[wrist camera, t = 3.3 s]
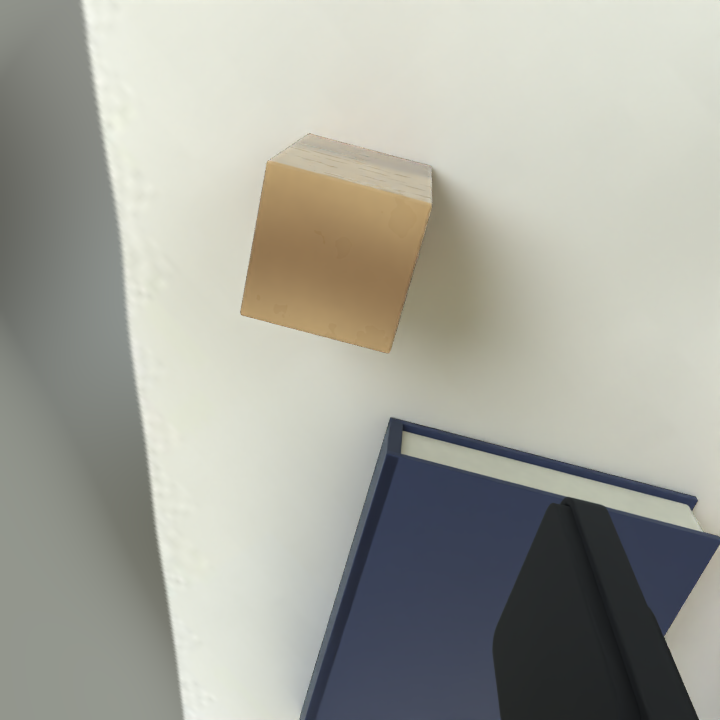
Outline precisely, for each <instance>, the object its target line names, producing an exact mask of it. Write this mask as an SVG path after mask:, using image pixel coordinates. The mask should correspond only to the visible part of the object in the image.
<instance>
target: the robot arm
mask: <svg viewBox="0 0 720 720" xmlns="http://www.w3.org/2000/svg"><path fill="white" fill-rule="evenodd" d="M492 652H493V661H494V669H495V677H496V685H497V693H498V701H499V709H500V717H501V720H699V719H698V716H697V714H696V712H695V709H694V707H693V705H692V702H691V700H690V697H689V695H688V693H687V690H686V688H685V686H684V683H683V681H682V679H681V676H680V674H679V672H678V669H677V667H676V664H675V662H674V660H673V657H672V655H671V653H670V650H669V648H668V646H667V643H666V641H665V638H664V636H663V634H662V631H661V629H660V627H659V624H658V622H657V620H656V617H655V615H654V614H653V612H652V610H651V609H650V608H649V607H648V605H647V603H646V601H645V598H644V596H643V593H642V591H641V589H640V586H639V584H638V581H637V579H636V577H635V574H634V572H633V569H632V567H631V565H630V562H629V560H628V558H627V555H626V553H625V550H624V548H623V546H622V543H621V541H620V538H619V536H618V534H617V531H616V529H615V526H614V524H613V522H612V519H611V517H610V515H609V512H608V510H607V508H606V507H605V506H603V505H601V504H597V503H593V502H588V501H584V500H580V499H576V498H572V497H566V498H564V499H563V500H562V501H561V503H560V504H556V503H551V504H550V505H549V506H548V508H547V510H546V512H545V514H544V517H543V519H542V521H541V524H540V526H539V528H538V531H537V533H536V535H535V538H534V540H533V542H532V545H531V547H530V549H529V552H528V554H527V556H526V559H525V561H524V563H523V566H522V568H521V570H520V573H519V575H518V577H517V580H516V582H515V584H514V586H513V589H512V591H511V593H510V596H509V598H508V600H507V603H506V605H505V607H504V610H503V612H502V614H501V617H500V619H499V621H498V624H497V626H496V629H495V632H494V636H493V645H492Z"/></svg>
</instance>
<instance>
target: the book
mask: <svg viewBox="0 0 720 720" xmlns="http://www.w3.org/2000/svg"><path fill="white" fill-rule="evenodd" d="M566 497H572V498H576V499H580V500H584V501H588V502H593V503H597V504H601V505H603V506H605V507H606V508H607V510H608V512H609V515H610V517H611V519H612V522H613V524H614V526H615V529H616V531H617V534H618V536H619V538H620V541H621V543H622V546H623V548H624V550H625V553H626V555H627V558H628V560H629V562H630V565H631V567H632V569H633V572H634V574H635V577H636V579H637V581H638V584H639V586H640V589H641V591H642V593H643V596H644V598H645V601H646V603H647V605H648V607H649V608H650V609H651V610H652V612H653V614H654V615H655V617H656V620H657V622H658V624H659V627H660V629H661V631H662V634H663V636H665V634H666V632H667V631H668V629H669V627H670V626H671V624H672V622H673V621H674V619H675V617H676V616H677V614H678V612H679V611H680V609H681V607H682V606H683V604H684V603H685V601H686V599H687V598H688V596H689V594H690V593H691V591H692V589H693V588H694V586H695V584H696V583H697V581H698V579H699V578H700V576H701V574H702V573H703V571H704V569H705V568H706V566H707V564H708V563H709V561H710V559H711V558H712V556H713V554H714V553H715V551H716V550H717V548H718V546H719V545H720V537H719V536H716V535H713V534H709V533H705V532H703V530H702V528H701V527H700V525H699V523H698V521H697V520H696V518H695V516H694V514H693V513H692V510H693V508H694V506H695V505H696V503H697V501H698V500H697V498H696V497H695V496H691V495H687V494H683V493H679V492H675V491H672V490H668V489H664V488H660V487H656V486H652V485H649V484H645V483H641V482H637V481H633V480H629V479H626V478H622V477H618V476H614V475H610V474H606V473H602V472H599V471H595V470H591V469H587V468H583V467H579V466H576V465H572V464H568V463H564V462H560V461H556V460H553V459H549V458H545V457H541V456H537V455H533V454H530V453H526V452H522V451H518V450H514V449H510V448H506V447H503V446H499V445H495V444H491V443H487V442H483V441H480V440H476V439H472V438H468V437H464V436H460V435H457V434H453V433H449V432H445V431H441V430H437V429H434V428H430V427H426V426H422V425H418V424H414V423H410V422H407V421H403V420H399V419H395V418H390V420H389V424H388V427H387V430H386V434H385V437H384V440H383V443H382V447H381V450H380V453H379V457H378V460H377V463H376V467H375V470H374V473H373V476H372V480H371V483H370V486H369V490H368V493H367V496H366V500H365V503H364V506H363V510H362V513H361V516H360V519H359V523H358V526H357V529H356V533H355V536H354V539H353V543H352V546H351V549H350V553H349V556H348V559H347V562H346V566H345V569H344V572H343V576H342V579H341V582H340V586H339V589H338V592H337V595H336V599H335V602H334V605H333V609H332V612H331V615H330V619H329V622H328V625H327V629H326V632H325V635H324V638H323V642H322V645H321V648H320V652H319V655H318V658H317V662H316V665H315V668H314V672H313V675H312V678H311V681H310V685H309V688H308V691H307V695H306V698H305V701H304V705H303V708H302V711H301V714H300V720H501V717H500V709H499V701H498V693H497V685H496V677H495V669H494V661H493V652H492V645H493V636H494V632H495V629H496V626H497V624H498V621H499V619H500V617H501V614H502V612H503V610H504V607H505V605H506V603H507V600H508V598H509V596H510V593H511V591H512V589H513V586H514V584H515V582H516V580H517V577H518V575H519V573H520V570H521V568H522V566H523V563H524V561H525V559H526V556H527V554H528V552H529V549H530V547H531V545H532V542H533V540H534V538H535V535H536V533H537V531H538V528H539V526H540V524H541V521H542V519H543V517H544V514H545V512H546V510H547V508H548V506H549V505H550V504H551V503H556V504H560V503H561V501H562V500H563V499H564V498H566Z"/></svg>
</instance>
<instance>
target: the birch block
mask: <svg viewBox="0 0 720 720" xmlns="http://www.w3.org/2000/svg"><path fill="white" fill-rule="evenodd" d="M431 210H432V167H431V166H429V165H425V164H422V163H418V162H414V161H410V160H407V159H403V158H399V157H395V156H391V155H388V154H384V153H380V152H376V151H373V150H369V149H365V148H361V147H358V146H354V145H350V144H346V143H343V142H339V141H335V140H331V139H328V138H324V137H320V136H316V135H313V134H307V135H306V136H304V137H303V138H301V139H300V140H298V141H297V142H295V143H294V144H292V145H291V146H289V147H288V148H286V149H285V150H283V151H282V152H280V153H279V154H277V155H276V156H274V157H273V158H271V159H270V160H268V162H267V164H266V170H265V176H264V181H263V187H262V192H261V198H260V204H259V209H258V215H257V221H256V226H255V232H254V238H253V243H252V249H251V254H250V260H249V266H248V271H247V277H246V283H245V288H244V294H243V300H242V305H241V311H240V313H241V315H243V316H247V317H251V318H254V319H258V320H262V321H266V322H270V323H273V324H277V325H281V326H285V327H289V328H293V329H296V330H300V331H304V332H308V333H312V334H315V335H319V336H323V337H327V338H331V339H335V340H338V341H342V342H346V343H350V344H354V345H357V346H361V347H365V348H369V349H373V350H377V351H380V352H384V353H390V351H391V348H392V345H393V341H394V338H395V334H396V331H397V327H398V324H399V320H400V317H401V314H402V310H403V307H404V303H405V300H406V296H407V293H408V289H409V286H410V282H411V279H412V275H413V272H414V268H415V265H416V262H417V258H418V255H419V251H420V248H421V244H422V241H423V237H424V234H425V230H426V227H427V223H428V220H429V216H430V213H431Z"/></svg>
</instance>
